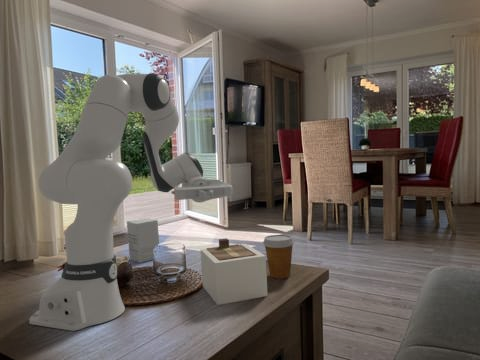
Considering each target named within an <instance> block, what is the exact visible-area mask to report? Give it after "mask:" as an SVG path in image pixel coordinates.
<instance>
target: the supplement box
mask: <svg viewBox="0 0 480 360" xmlns="http://www.w3.org/2000/svg"><path fill="white" fill-rule="evenodd" d="M158 224H159V223H158V219H152V218H150V217H145V218H139V219H134V220H127V221H126V227H127V241H128V242H127V243H128V254H129V255H128V256H129V259H130V260H132V261H134V262H137V263H139V264H140V263H144V262H149V261H152V260H154V259H153V249H154V247H155V246H156V245H158V244H159V245H160V235H159V225H158Z"/></svg>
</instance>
